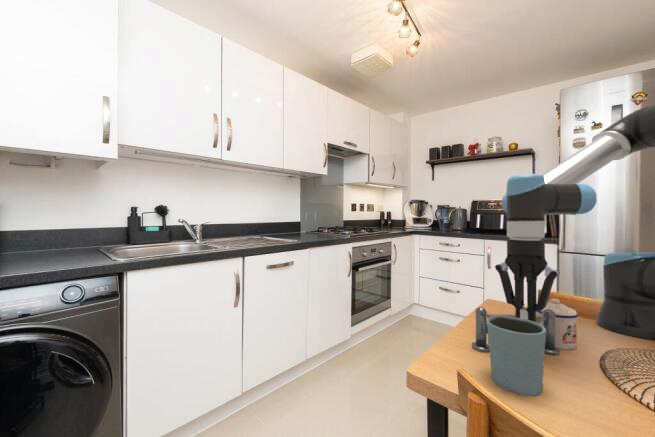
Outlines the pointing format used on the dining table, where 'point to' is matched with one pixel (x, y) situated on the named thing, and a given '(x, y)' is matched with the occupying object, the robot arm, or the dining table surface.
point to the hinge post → (550, 332)
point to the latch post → (481, 331)
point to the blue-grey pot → (517, 354)
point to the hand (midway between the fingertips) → (525, 335)
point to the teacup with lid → (563, 324)
